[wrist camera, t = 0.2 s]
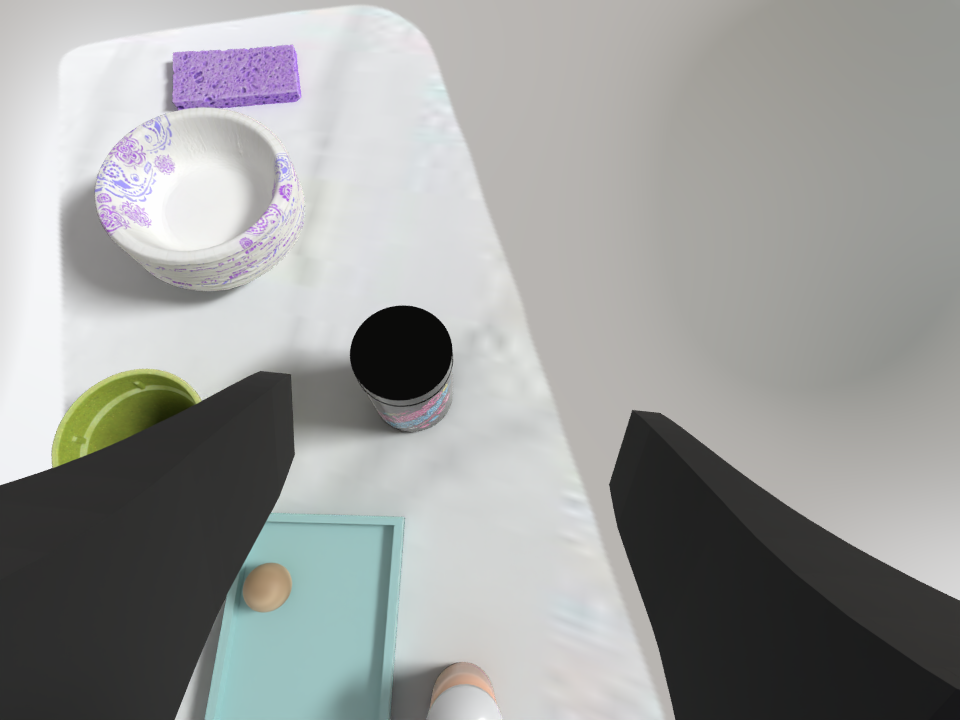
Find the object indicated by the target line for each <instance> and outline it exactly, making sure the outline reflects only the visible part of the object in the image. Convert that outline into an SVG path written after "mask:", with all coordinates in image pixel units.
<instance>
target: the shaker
mask: <svg viewBox="0 0 960 720" xmlns="http://www.w3.org/2000/svg"><path fill="white" fill-rule="evenodd" d="M426 720H503V719H502V716H501V712H500V710H499V707H498V705H497V703H496V699H495V695H494V691H493V687H492V684H491V681H490V679H489V677H488V676H487V674H486V673H485V672H484V671H483V670H482V669H481V668H480V667H478V666H476V665H474V664H472V663H467V662H460V663H455V664H453V665H451V666H449V667H447V668H446V669H445V670H444V671H443V672H442V673H441V674H440V675H439V677H438V678H437V680H436V682H435V684H434V687H433V691H432V697H431V703H430V710H429V712H428V715H427V719H426Z"/></svg>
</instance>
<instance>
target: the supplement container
mask: <svg viewBox="0 0 960 720" xmlns="http://www.w3.org/2000/svg"><path fill="white" fill-rule="evenodd" d="M350 361H351V366H352V369H353V372H354V374H355V376H356V378H357V380H358V382H359V383H360V385H361V387H362V388H363V389H364V391H365V392H366V393H367V395H368V397H369V398H370V400H371V402H372V403H373V405H374V407H375V408H376V410H377V412H378V413H379V415H380V416H381V418H382V419H383V420H384V421H385V422H386V423H388V424H389V425H390V426H392V427H394V428H396V429H399V430H402V431H408V432H416V431H422V430H425V429H428V428H430V427H432V426H434V425H435V424H437V423H438V422H439V421H440V420H442V418H443V417H444V416H445V415H446V413H447V412H448V410H449V408H450V406H451V403H452V398H453V374H452V367H453V352H452V343H451V339H450V336H449V333H448V331H447V329H446V328H445V326H444V325H443V324H442V322H441V321H440V320H439V319H438V318H436V317H435V316H434V315H433V314H431V313H429V312H428V311H426V310H423V309H421V308H417V307H413V306H393V307H389V308H385V309H383V310H380V311H378V312H376V313H375V314H373V315H371V316H370V317H369V318H368V319H366V320H365V321H364V322H363V323H362V325H361V326H360V327H359V328H358V330H357V332H356V333H355V335H354V338H353V340H352V344H351V349H350Z"/></svg>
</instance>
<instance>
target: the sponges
mask: <svg viewBox="0 0 960 720" xmlns="http://www.w3.org/2000/svg"><path fill="white" fill-rule="evenodd" d="M173 71H174V74H173V92H172V97H173V100H172V102H173V103H174V104H175V106H176V107H177V109H178V110H183V109H189V108H201V107H204V108H226V107H228V108H230V107H237V106H240V107H241V106H252V105H263V104H274V103H287V102H296V101H297V100H298V99H300V98H301V90H300V81H299V74H298V65H297V54H296V51H295V49H294V47H293V45H282V46H276V47H272V46H270V47H261V48H254V49H253V48H250V49H249V50H247V49H228V50H226V51H221V50H209V51H200V52H194V51H187V52H175V53H173Z"/></svg>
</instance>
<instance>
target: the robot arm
mask: <svg viewBox="0 0 960 720" xmlns="http://www.w3.org/2000/svg"><path fill="white" fill-rule="evenodd" d="M294 455H295V452H294V432H293V411H292V391H291V374H282V373H273V372H263V371H260V372H258V373H255V374H253V375H251V376H249V377H247V378H245V379H243V380H241V381H239V382H237V383H235V384H233V385H231V386H229V387H227V388H226V389H224V390H222V391H220V392H218V393H216V394H214V395H212V396H211V397H209V398H207V399H205V400H203V401H201V402H199V403H197V404H195V405H193V406H191V407H190V408H188V409H186V410H184V411H182V412H180V413H178V414H176V415H174V416H172V417H170V418H168V419H166V420H164V421H161V422H159V423H157V424H155V425H153V426H151V427H149V428H147V429H145V430H143V431H141V432H138V433H136V434H134V435H132V436H130V437H128V438H126V439H124V440H121V441H119V442H117V443H114V444H112V445H110V446H107V447H105V448H103V449H100V450H98V451H95V452H93V453H91V454H88V455H85V456H83V457H80V458H78V459H75V460H72V461H70V462H67V463H65V464H62V465H60V466H57V467H54V468H51V469H49V470H46V471H43V472H40V473H37V474H34V475H31V476H28V477H25V478H22V479H19V480H16V481H13V482H9V483H6V484H3V485H0V720H175V717H176V715H177V712H178V710H179V707H180V705H181V702H182V700H183V697H184V694H185V692H186V689H187V687H188V684H189V682H190V679H191V677H192V674H193V672H194V669H195V667H196V664H197V662H198V659H199V657H200V655H201V652H202V650H203V647H204V645H205V643H206V640H207V638H208V635H209V633H210V631H211V628H212V626H213V623H214V621H215V619H216V616H217V614H218V612H219V610H220V608H221V606H222V604H223V602H224V600H225V598H226V596H227V594H228V592H229V590H230V588H231V586H232V584H233V582H234V580H235V579H236V577H237V575H238V573H239V571H240V569H241V567H242V566H243V564H244V562H245V560H246V558H247V556H248V554H249V553H250V551H251V549H252V547H253V545H254V543H255V541H256V540H257V538H258V536H259V534H260V532H261V530H262V528H263V527H264V525H265V523H266V521H267V519H268V517H269V515H270V513H271V511H272V510H273V508H274V506H275V504H276V502H277V500H278V498H279V496H280V493H281V491H282V488H283V485H284V483H285V480H286V478H287V475H288V472H289V469H290V466H291V464H292V461H293V458H294ZM609 486H610V492H611V497H612V502H613V508H614V513H615V518H616V522H617V527H618V530H619V533H620V536H621V539H622V542H623V545H624V548H625V551H626V554H627V557H628V559H629V562H630V565H631V568H632V571H633V574H634V577H635V579H636V582H637V585H638V588H639V591H640V593H641V597H642V599H643V602H644V605H645V608H646V611H647V614H648V617H649V619H650V622H651V625H652V628H653V631H654V634H655V638H656V641H657V645H658V648H659V652H660V656H661V660H662V664H663V668H664V673H665V677H666V681H667V685H668V689H669V693H670V697H671V702H672V706H673V710H674V715H675V720H960V600H957V599H955V598H953V597H951V596H948V595H947V594H944V593H943V592H940V591H938V590H936V589H934V588H932V587H930V586H928V585H926V584H924V583H922V582H920V581H918V580H916V579H914V578H912V577H910V576H908V575H906V574H905V573H903V572H901V571H899V570H897V569H895V568H893V567H891V566H889V565H887V564H885V563H883V562H881V561H880V560H878V559H876V558H874V557H872V556H870V555H868V554H867V553H865V552H863V551H861V550H859V549H857V548H856V547H854V546H852V545H850V544H848V543H847V542H845V541H844V540H842V539H840V538H838V537H837V536H835V535H834V534H832V533H830V532H829V531H827V530H825V529H824V528H822V527H820V526H819V525H817V524H815V523H814V522H812V521H810V520H809V519H807V518H806V517H804V516H803V515H801V514H799V513H798V512H796V511H795V510H793V509H791V508H790V507H789V506H787V505H786V504H784V503H783V502H781V501H780V500H778V499H777V498H776V497H774V496H773V495H771V494H770V493H768V492H767V491H765V490H764V489H762V488H761V487H760V486H758V485H757V484H755V483H754V482H753V481H751V480H750V479H749V478H747V477H746V476H744V475H743V474H742V473H740V472H739V471H738V470H736V469H735V468H733V467H732V466H731V465H730V464H728V463H727V462H726V461H724V460H723V459H722V458H721V457H719V456H718V455H717V454H715V453H714V452H713V451H711V450H710V449H709V448H707V447H706V446H705V445H704V444H702V443H701V442H700V441H698V440H697V439H696V438H695V437H693V436H692V435H691V434H689V433H688V432H687V431H685V430H684V429H683V428H681V427H680V426H679V425H677V424H676V423H675V422H673V421H672V420H670V419H669V418H667V417H666V416H664V415H662V414H661V413H654V412H646V411H636V410H632V413H631V416H630V419H629V423H628V426H627V429H626V432H625V435H624V439H623V442H622V445H621V448H620V451H619V455H618V458H617V461H616V464H615V468H614V471H613V474H612V477H611V481H610V484H609Z"/></svg>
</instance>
